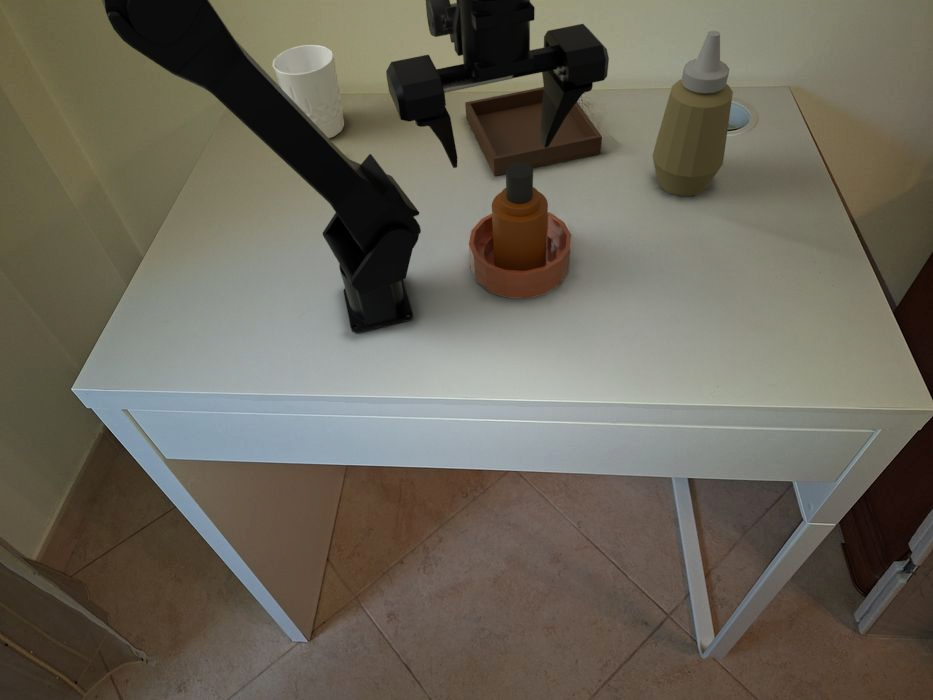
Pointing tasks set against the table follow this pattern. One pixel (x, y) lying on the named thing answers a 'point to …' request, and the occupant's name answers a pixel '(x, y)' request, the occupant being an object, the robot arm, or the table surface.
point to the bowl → (513, 280)
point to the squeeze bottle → (695, 124)
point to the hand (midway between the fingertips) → (499, 155)
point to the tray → (528, 131)
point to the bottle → (519, 222)
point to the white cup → (312, 85)
